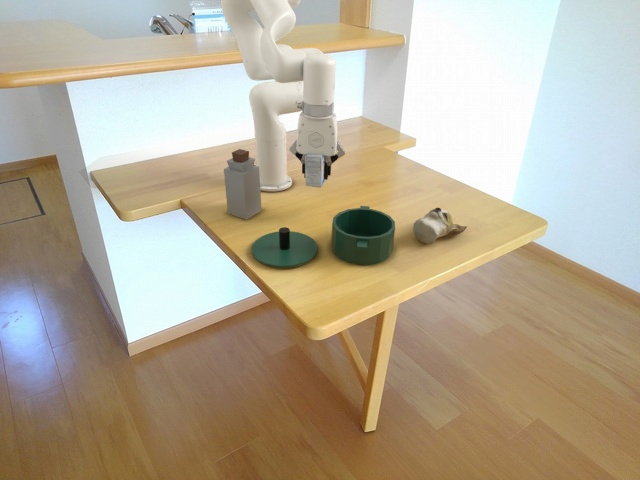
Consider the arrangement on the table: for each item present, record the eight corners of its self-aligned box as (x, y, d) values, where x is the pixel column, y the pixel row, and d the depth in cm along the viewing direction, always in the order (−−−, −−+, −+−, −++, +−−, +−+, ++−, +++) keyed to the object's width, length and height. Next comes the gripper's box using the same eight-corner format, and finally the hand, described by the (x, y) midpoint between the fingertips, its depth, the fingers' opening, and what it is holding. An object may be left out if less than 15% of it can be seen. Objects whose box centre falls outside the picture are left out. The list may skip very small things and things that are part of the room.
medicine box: (321, 188, 124) (322, 157, 119) (304, 186, 125) (305, 155, 120) (327, 175, 130) (328, 145, 126) (311, 174, 131) (311, 144, 126)
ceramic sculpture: (405, 207, 121) (440, 193, 130) (400, 236, 125) (434, 222, 134) (439, 223, 114) (474, 208, 124) (433, 254, 119) (466, 237, 128)
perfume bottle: (246, 219, 133) (242, 158, 123) (227, 213, 136) (222, 153, 126) (261, 210, 137) (258, 150, 128) (243, 204, 141) (238, 145, 131)
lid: (244, 267, 113) (243, 244, 110) (260, 232, 127) (258, 212, 123) (313, 272, 111) (313, 250, 108) (320, 237, 125) (321, 216, 122)
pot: (327, 269, 113) (328, 241, 109) (335, 226, 130) (336, 201, 126) (392, 274, 111) (396, 246, 107) (391, 230, 129) (394, 205, 125)
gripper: (281, 111, 115) (282, 180, 124) (352, 115, 113) (347, 185, 123) (286, 102, 121) (287, 168, 131) (353, 106, 120) (349, 173, 129)
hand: (316, 176), depth 127 cm, fingers closed on medicine box, 4 cm apart
